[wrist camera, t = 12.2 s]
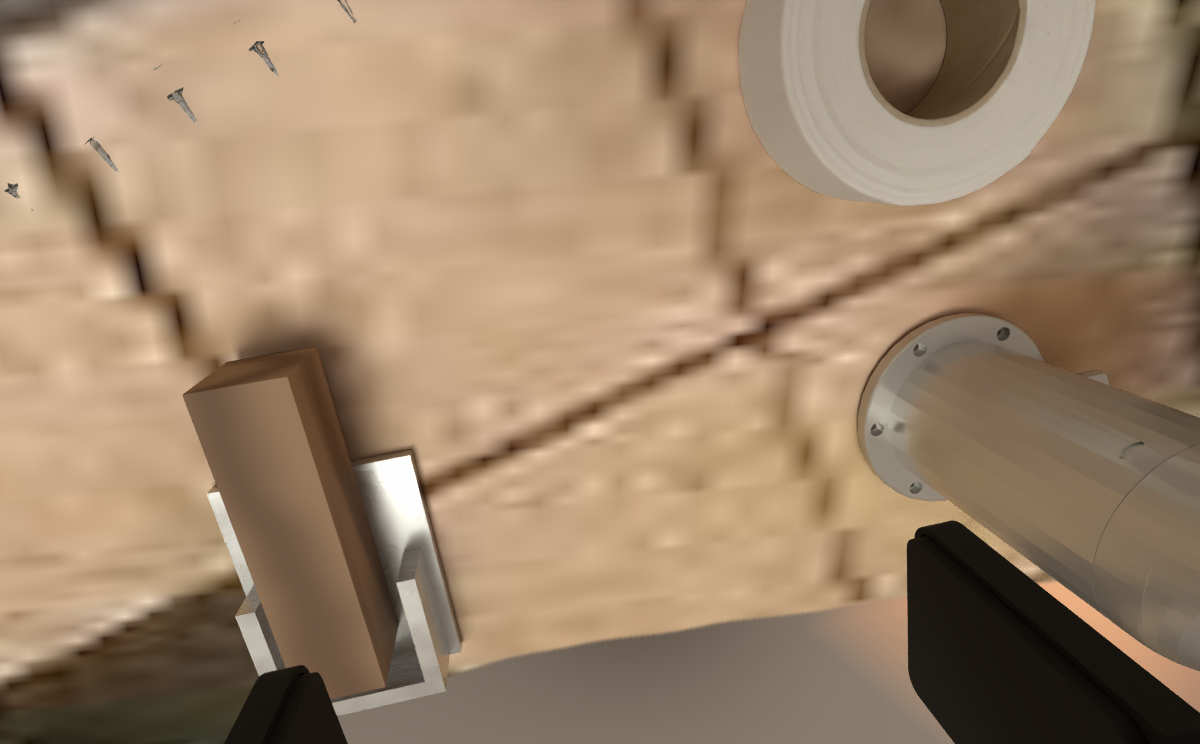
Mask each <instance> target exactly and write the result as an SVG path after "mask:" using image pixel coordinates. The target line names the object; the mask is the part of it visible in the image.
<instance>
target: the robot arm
mask: <svg viewBox="0 0 1200 744" xmlns="http://www.w3.org/2000/svg"><path fill="white" fill-rule="evenodd" d="M858 437H859V443H860V448H861V451H862V453H863V456H864V458H865V461H866V462H867V464H868V465H869V467H870V468H871V470H872V471H873V473H874V474H875V475H876V476H877V477H879V478H880V479H881V480H882V481H883V482H884V483H885V484H886V485H888V486H889V487H891V488H892V489H893V490H895V491H896V492H898V493H900V494H902V495H904V496H907V497H909V498H912V499H918V500H924V501H945V500H949V501H950V502H951V503H953V504H954V505H955V506H957V507H958V508H959V509H961V510H962V511H964V512H965V513H966V514H968V515H969V516H970V517H972V518H973V519H974V520H976V521H977V522H978V523H980V524H981V525H982V526H984V527H985V528H986V529H988V530H989V531H991V532H992V533H993V534H995V535H996V536H997V537H999V538H1000V539H1001V540H1003V541H1004V542H1005V543H1007V544H1008V545H1009V546H1011V547H1012V548H1013V549H1015V550H1016V551H1017V552H1019V553H1020V554H1022V555H1023V556H1024V557H1026V558H1027V559H1028V560H1030V561H1031V562H1032V563H1034V564H1035V565H1036V566H1038V567H1039V568H1040V569H1042V570H1043V571H1044V572H1046V573H1047V574H1048V575H1050V576H1051V577H1053V578H1054V579H1055V580H1057V581H1058V582H1059V583H1061V584H1062V585H1063V586H1065V587H1066V588H1067V589H1069V590H1070V591H1072V592H1073V593H1074V594H1076V595H1077V596H1078V597H1080V598H1081V599H1082V600H1084V601H1085V602H1086V603H1088V604H1089V605H1090V606H1092V607H1093V608H1094V609H1096V610H1097V611H1098V612H1100V613H1101V614H1102V615H1104V616H1105V617H1107V618H1108V619H1109V620H1111V621H1112V622H1113V623H1114V624H1116V625H1117V626H1118V627H1120V628H1121V629H1122V630H1124V631H1125V632H1126V633H1128V634H1129V635H1130V636H1132V637H1133V638H1135V639H1136V640H1137V641H1139V642H1140V643H1142V644H1143V645H1145V646H1146V647H1148V648H1150V649H1151V650H1153V651H1154V652H1156V653H1158V654H1160V655H1162V656H1164V657H1166V658H1168V659H1169V660H1171V661H1174V662H1176V663H1178V664H1181V665H1183V666H1186V667H1189V668H1192V669H1194V670H1198V671H1200V418H1198V417H1195V416H1193V415H1190V414H1187V413H1184V412H1181V411H1179V410H1176V409H1173V408H1170V407H1168V406H1165V405H1162V404H1159V403H1156V402H1154V401H1151V400H1148V399H1145V398H1143V397H1140V396H1137V395H1134V394H1131V393H1129V392H1126V391H1123V390H1120V389H1118V388H1115V387H1112V386H1109V380H1108V377H1107V376H1106V374H1105V373H1104V372H1102V371H1100V370H1093V371H1088V372H1083V373H1078V374H1076V373H1073V372H1070V371H1068V370H1065V369H1062V368H1059V367H1056V366H1054V365H1051V364H1048V363H1045V362H1044V360H1043V357H1042V355H1041V353H1040V351H1039V349H1038V347H1037V345H1036V344H1035V342H1034V341H1033V340H1032V339H1031V338H1030V337H1029V336H1028V334H1027V333H1026V332H1024V331H1023V330H1021V329H1020V328H1019V327H1017V326H1016V325H1014V324H1013V323H1010V322H1007V321H1005V320H1002V319H999V318H996V317H993V316H989V315H984V314H980V313H959V314H954V315H948V316H944V317H941V318H938V319H936V320H933V321H931V322H928V323H926V324H924V325H922V326H921V327H919V328H917V329H915V330H914V331H912V332H910V333H909V334H908V335H906V336H905V337H904V338H903V339H902V340H900V341H899V342H898V343H897V344H896V345H894V346H893V348H892V349H891V350H890V351H889V352H888V353H887V354H886V356H885V357H884V358H883V359H882V360H881V361H880V363H879V364H878V366H877V368H876V369H875V371H874V372H873V374H872V375H871V377H870V379H869V381H868V384H867V386H866V388H865V391H864V393H863V395H862V400H861V404H860V408H859V412H858ZM907 600H908V670H909V676H910V680H911V682H912V685H913V687H914V689H915V691H916V693H917V694H918V696H919V697H920V699H921V700H922V701H923V703H924V704H925V705H926V706H927V708H928V709H929V710H930V712H931V713H932V714H933V716H934V717H935V718H936V719H937V721H938V722H939V723H940V725H941V726H942V727H943V729H944V730H945V731H946V733H947V734H948V735H949V737H950V738H951V739H952V740H953V742H954V743H955V744H1200V713H1199V712H1198V711H1197V710H1195V709H1194V708H1193V707H1191V706H1190V705H1189V704H1188V703H1186V702H1185V701H1184V700H1183V699H1181V698H1180V697H1179V696H1178V695H1176V694H1175V693H1174V692H1173V691H1171V690H1170V689H1169V688H1168V687H1166V686H1165V685H1164V684H1162V683H1161V682H1160V681H1159V680H1158V679H1156V678H1155V677H1154V676H1152V675H1151V674H1150V673H1149V672H1147V671H1146V670H1145V669H1144V668H1142V667H1141V666H1140V665H1139V664H1137V663H1136V662H1135V661H1134V660H1132V659H1131V658H1130V657H1128V656H1127V655H1126V654H1125V653H1123V652H1122V651H1121V650H1120V649H1118V648H1117V647H1116V646H1115V645H1113V644H1112V643H1111V642H1110V641H1108V640H1107V639H1106V638H1105V637H1103V636H1102V635H1101V634H1100V633H1098V632H1097V631H1096V630H1095V629H1093V628H1092V627H1091V626H1090V625H1088V624H1087V623H1086V622H1084V621H1083V620H1082V619H1081V618H1079V617H1078V616H1077V615H1075V614H1074V613H1073V612H1072V611H1071V610H1069V609H1068V608H1067V607H1066V606H1064V605H1063V604H1062V603H1060V602H1059V601H1058V600H1057V599H1056V598H1054V597H1053V596H1052V595H1051V594H1049V593H1048V592H1047V591H1045V590H1044V589H1043V588H1042V587H1040V586H1039V585H1038V584H1037V583H1035V582H1034V581H1033V580H1032V579H1030V578H1029V577H1028V576H1027V575H1025V574H1024V573H1023V572H1022V571H1020V570H1019V569H1018V568H1017V567H1015V566H1014V565H1013V564H1011V563H1010V562H1009V561H1008V560H1006V559H1005V558H1004V557H1003V556H1001V555H1000V554H999V553H998V552H996V551H995V550H994V549H993V548H991V547H990V546H989V545H988V544H986V543H985V542H984V541H983V540H981V539H980V538H979V537H977V536H976V535H975V534H974V533H972V532H971V531H970V530H969V529H967V528H966V527H965V526H964V525H962V524H961V523H959V522H957V521H947V522H943V523H938V524H934V525H929V526H925V527H921V528H919V529H917V531H916V533H915V539H911V540H909V541H908V543H907ZM224 744H348V743H347V741H346V738H345V736H344V734H343V730H342V728H341V725H340V723H339V720H338V718H337V715H336V712H335V710H334V707H333V705H332V702H331V699H330V697H329V694H328V692H327V689H326V686H325V684H324V681H323V679H322V677H321V675H320V674H319V673H318V672H313V673H310V672H309V670H308V668H307V667H305V666H304V665H298V666H293V667H289V668H284V669H280V670H275V671H271V672H266V673H263V674H262V675H260V676H259V678H258V679H257V681H256V682H255V684H254V686H253V688H252V690H251V692H250V694H249V696H248V698H247V700H246V702H245V704H244V706H243V708H242V710H241V712H240V714H239V716H238V718H237V720H236V722H235V724H234V726H233V727H232V729H231V731H230V733H229V735H228V737H227V739H226V741H225V743H224Z"/></svg>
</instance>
